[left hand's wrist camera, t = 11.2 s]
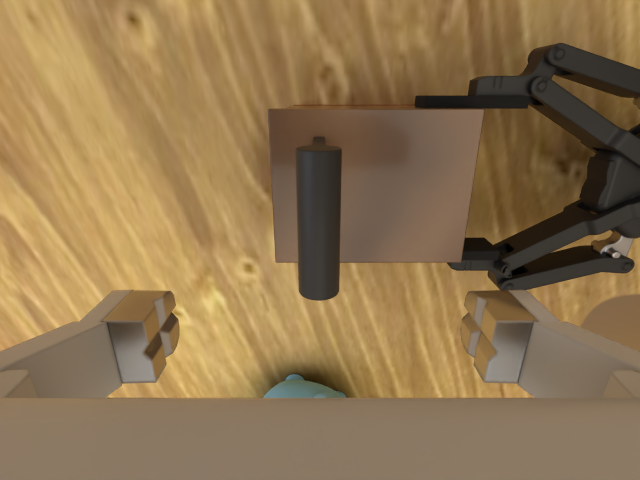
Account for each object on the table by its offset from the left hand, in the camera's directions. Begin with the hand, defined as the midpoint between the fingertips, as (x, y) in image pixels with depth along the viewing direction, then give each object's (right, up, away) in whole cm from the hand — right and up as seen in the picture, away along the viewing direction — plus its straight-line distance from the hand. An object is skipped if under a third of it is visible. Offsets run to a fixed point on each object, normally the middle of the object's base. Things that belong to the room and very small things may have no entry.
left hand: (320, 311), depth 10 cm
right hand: (+7, +6, +16) cm, 18 cm away
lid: (+3, +5, +14) cm, 15 cm away
